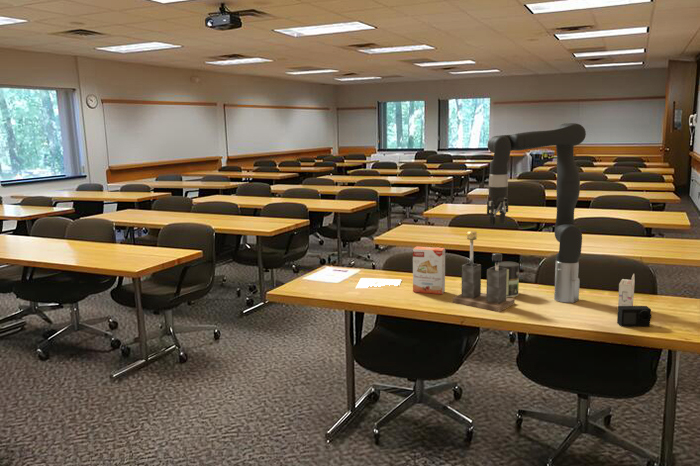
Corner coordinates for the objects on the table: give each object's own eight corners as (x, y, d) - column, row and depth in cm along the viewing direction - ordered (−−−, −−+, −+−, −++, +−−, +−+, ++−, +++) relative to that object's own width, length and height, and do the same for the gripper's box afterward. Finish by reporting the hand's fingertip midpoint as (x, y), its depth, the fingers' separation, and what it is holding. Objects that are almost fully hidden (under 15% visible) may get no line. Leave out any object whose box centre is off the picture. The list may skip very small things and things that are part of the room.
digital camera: (622, 328, 210) (623, 310, 209) (616, 323, 215) (617, 305, 214) (651, 328, 209) (652, 310, 208) (645, 323, 214) (646, 305, 213)
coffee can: (517, 291, 260) (518, 261, 257) (519, 297, 250) (520, 266, 247) (494, 290, 262) (495, 260, 259) (495, 296, 252) (496, 266, 249)
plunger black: (503, 296, 239) (504, 253, 236) (498, 298, 236) (499, 255, 233) (494, 294, 242) (494, 252, 239) (489, 296, 239) (490, 254, 236)
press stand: (514, 303, 242) (515, 267, 239) (499, 311, 231) (500, 274, 229) (468, 294, 256) (469, 260, 253) (452, 302, 246) (452, 266, 243)
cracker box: (412, 292, 262) (412, 248, 258) (416, 289, 268) (415, 245, 264) (442, 295, 257) (442, 250, 253) (445, 291, 262) (445, 247, 258)
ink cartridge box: (619, 305, 235) (622, 271, 232) (633, 307, 232) (635, 272, 230) (617, 311, 228) (619, 276, 225) (630, 313, 225) (633, 277, 223)
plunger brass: (478, 273, 246) (478, 231, 242) (473, 275, 243) (473, 233, 239) (469, 272, 248) (469, 230, 245) (464, 274, 245) (465, 232, 242)
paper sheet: (406, 281, 283) (406, 279, 282) (393, 300, 256) (393, 297, 256) (362, 278, 290) (361, 276, 290) (344, 296, 263) (344, 294, 263)
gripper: (498, 187, 223) (497, 227, 226) (514, 184, 233) (513, 222, 236) (481, 186, 228) (480, 226, 231) (498, 183, 238) (497, 221, 241)
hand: (497, 224), depth 234 cm, fingers open, 8 cm apart
